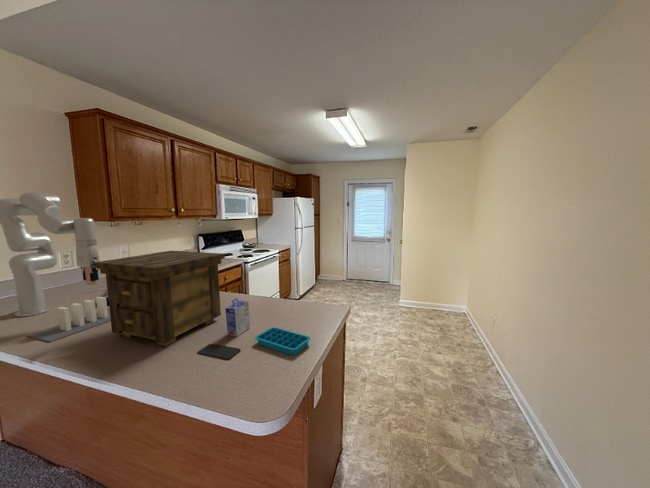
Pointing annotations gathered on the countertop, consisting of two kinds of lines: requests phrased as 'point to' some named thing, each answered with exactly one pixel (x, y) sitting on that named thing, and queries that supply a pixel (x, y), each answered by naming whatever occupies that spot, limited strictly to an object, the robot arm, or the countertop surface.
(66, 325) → the ivory tile
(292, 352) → the ice cube tray
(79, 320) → the ivory tile
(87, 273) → the terracotta tile
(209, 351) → the phone
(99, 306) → the ivory tile
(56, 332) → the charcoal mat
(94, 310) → the ivory tile
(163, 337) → the wooden nightstand
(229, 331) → the ink cartridge box
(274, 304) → the countertop surface
